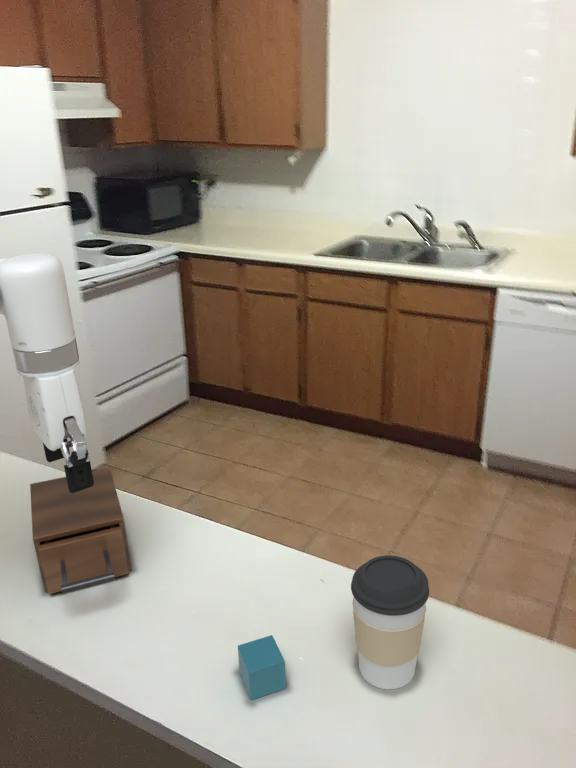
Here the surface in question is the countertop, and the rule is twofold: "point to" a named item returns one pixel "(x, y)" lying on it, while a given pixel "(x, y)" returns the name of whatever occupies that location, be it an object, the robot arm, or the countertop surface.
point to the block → (262, 667)
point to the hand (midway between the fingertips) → (69, 473)
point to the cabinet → (74, 510)
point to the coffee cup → (389, 619)
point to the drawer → (83, 559)
